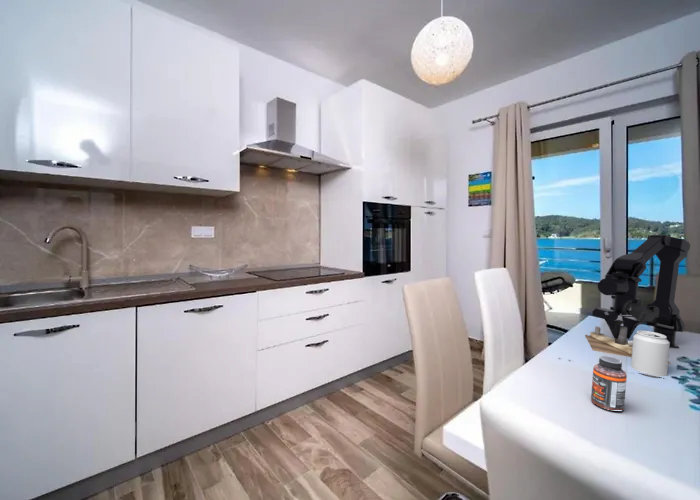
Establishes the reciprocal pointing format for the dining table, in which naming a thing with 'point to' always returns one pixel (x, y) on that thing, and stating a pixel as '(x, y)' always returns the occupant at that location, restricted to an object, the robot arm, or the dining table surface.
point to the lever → (617, 343)
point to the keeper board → (608, 347)
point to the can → (650, 353)
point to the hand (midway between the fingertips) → (621, 338)
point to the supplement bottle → (609, 384)
